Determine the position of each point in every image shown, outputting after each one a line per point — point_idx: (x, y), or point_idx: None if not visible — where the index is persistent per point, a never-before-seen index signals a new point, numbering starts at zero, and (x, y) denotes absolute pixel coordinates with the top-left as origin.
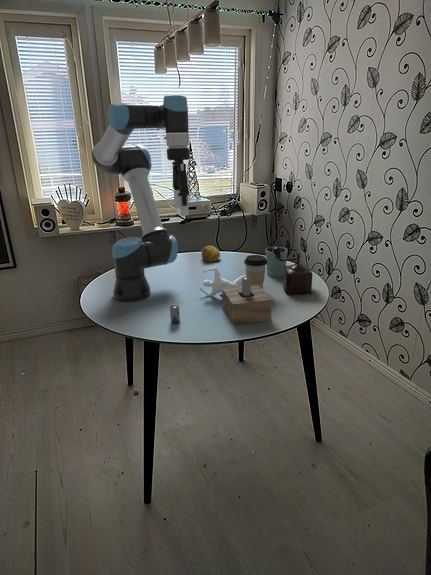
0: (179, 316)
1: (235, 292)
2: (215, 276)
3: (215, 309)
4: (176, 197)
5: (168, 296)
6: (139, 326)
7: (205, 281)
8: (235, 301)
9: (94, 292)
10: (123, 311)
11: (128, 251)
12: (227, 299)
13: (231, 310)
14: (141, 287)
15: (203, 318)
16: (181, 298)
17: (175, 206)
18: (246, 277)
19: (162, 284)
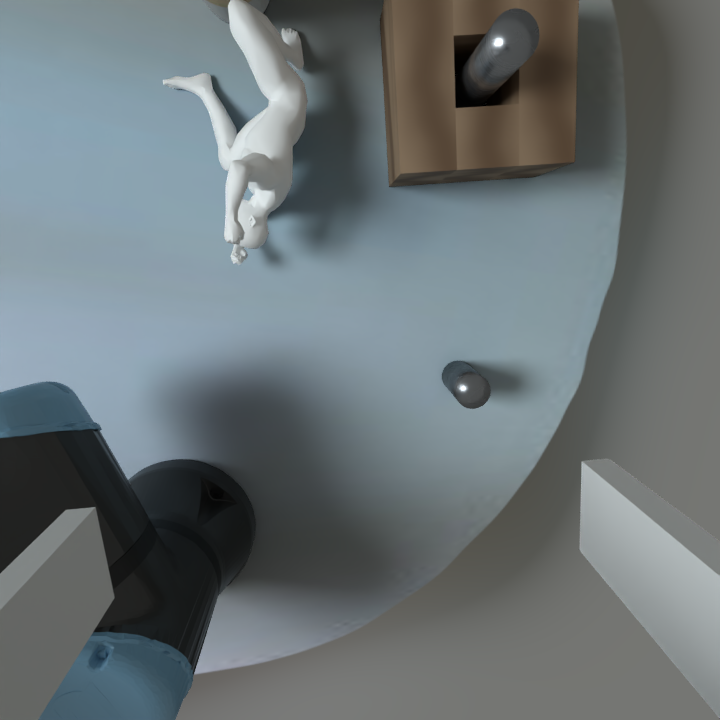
0: (469, 366)
1: (453, 118)
2: (270, 183)
3: (388, 218)
4: (16, 707)
5: (225, 391)
6: (458, 487)
7: (256, 237)
8: (550, 143)
9: None
10: (333, 543)
11: (181, 676)
12: (482, 170)
13: (536, 170)
14: (212, 509)
15: (453, 276)
16: (255, 341)
17: (100, 611)
18: (497, 31)
19: None
